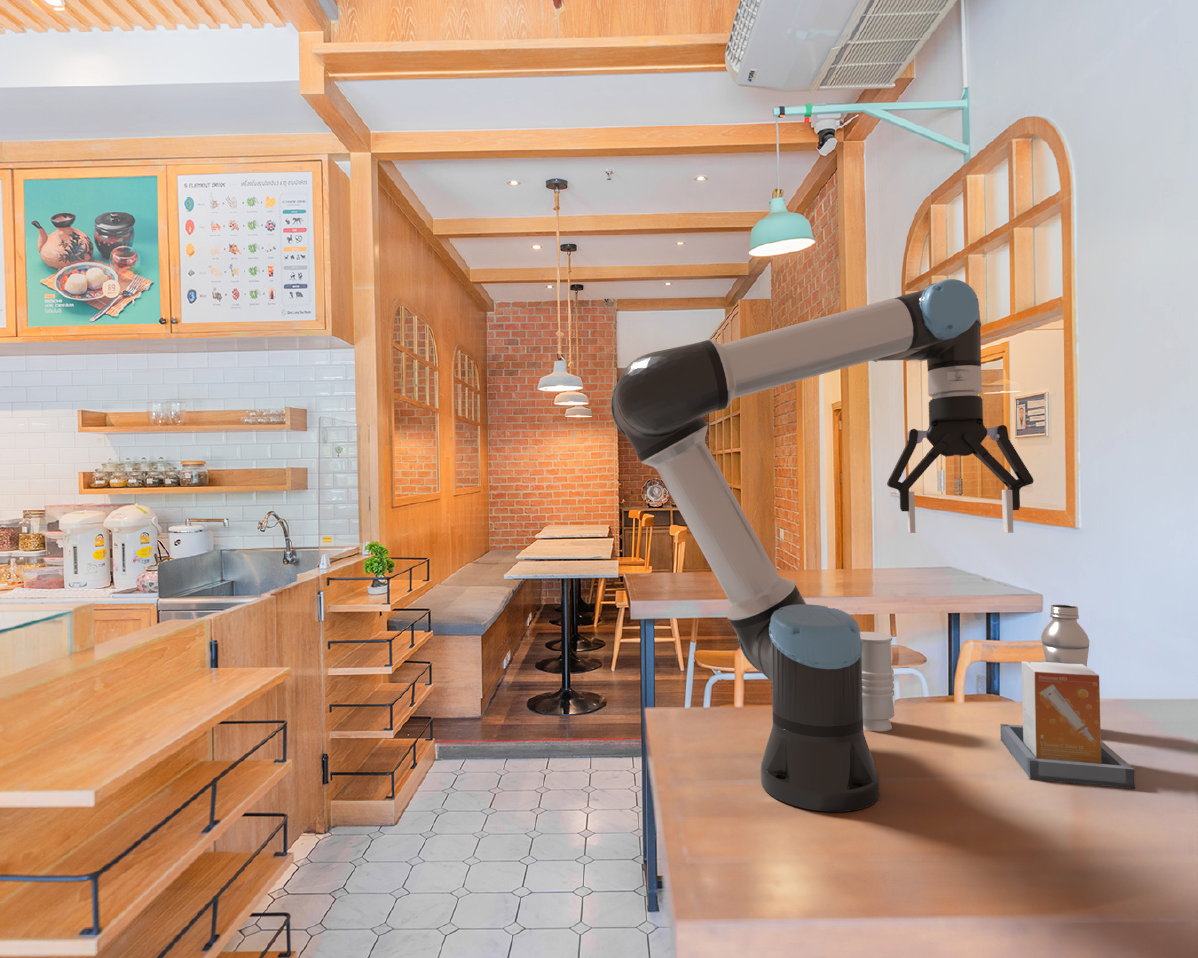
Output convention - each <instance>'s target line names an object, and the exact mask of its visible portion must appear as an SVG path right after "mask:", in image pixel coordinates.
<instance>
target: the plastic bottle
mask: <svg viewBox="0 0 1198 958" xmlns="http://www.w3.org/2000/svg"><path fill="white" fill-rule="evenodd" d="M1049 617H1050V618H1052V619H1051V621H1050V622H1049V623H1048V624H1047V625H1046V627H1044V629H1043V631H1042V633H1041V637H1040V638H1041V643H1042V650H1043V656H1044V659H1045V661H1044V662H1053V663H1064V664H1083V665H1085V666H1086V667H1088V659H1089V658H1088V657H1089V651H1090V639H1089V637H1088V635H1087V632H1086V631H1085V630H1084V628H1083V627H1082V626H1081V625H1080V624H1079V623H1078V621H1077V620H1078V619H1080V615H1079V607H1078V606H1076V605H1070V604H1051V605H1050V613H1049Z"/></svg>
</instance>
